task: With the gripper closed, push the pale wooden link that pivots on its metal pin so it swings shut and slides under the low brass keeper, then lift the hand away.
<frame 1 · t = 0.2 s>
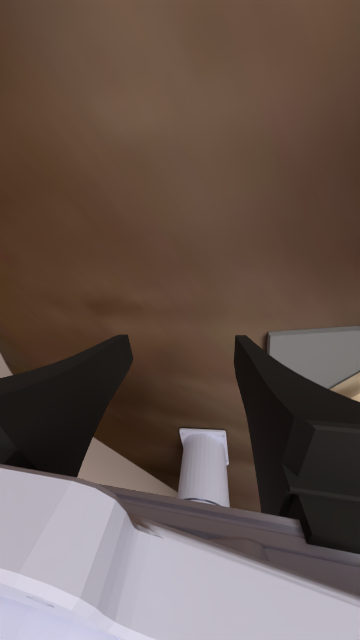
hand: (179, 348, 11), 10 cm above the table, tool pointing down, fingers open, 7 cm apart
link: (342, 408, 20), point 3 cm above the table, hinge at 45.0°
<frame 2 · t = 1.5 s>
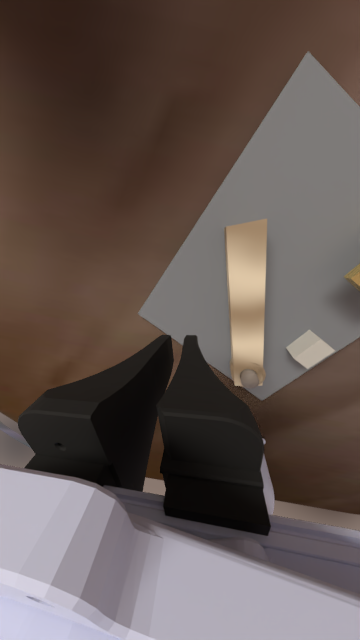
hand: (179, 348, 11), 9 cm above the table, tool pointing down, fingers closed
base plate: (273, 286, 18), on the table
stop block: (299, 339, 19), resting on base plate
link: (246, 319, 17), point 3 cm above the table, hinge at 45.0°
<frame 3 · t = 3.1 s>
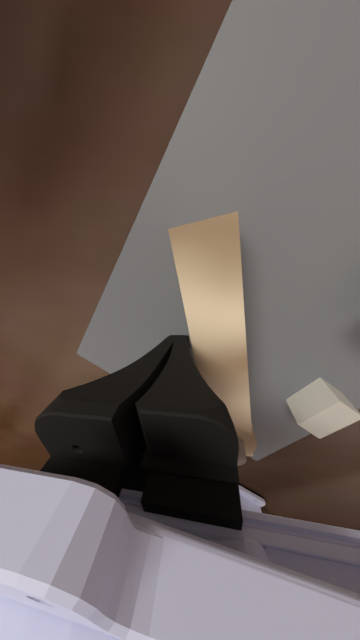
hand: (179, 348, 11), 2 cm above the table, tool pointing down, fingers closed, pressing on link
base plate: (262, 314, 12), on the table
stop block: (305, 385, 13), resting on base plate
link: (221, 369, 11), point 3 cm above the table, hinge at 45.0°, touching gripper
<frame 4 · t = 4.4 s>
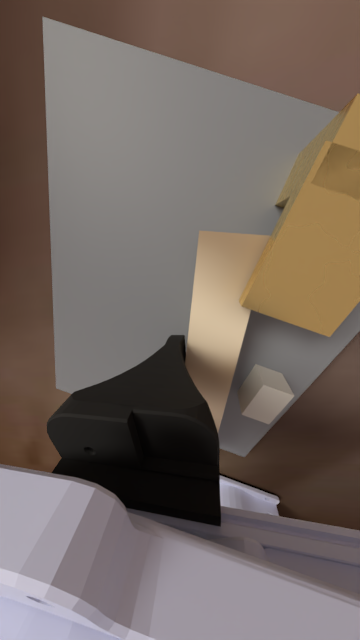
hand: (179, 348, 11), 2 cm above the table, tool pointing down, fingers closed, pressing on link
base plate: (185, 320, 13), on the table
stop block: (255, 374, 14), resting on base plate
keeper: (284, 248, 10), resting on base plate
link: (206, 375, 11), point 3 cm above the table, hinge at 12.9°, touching gripper
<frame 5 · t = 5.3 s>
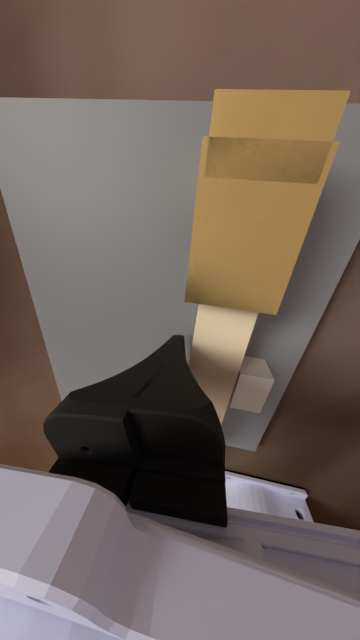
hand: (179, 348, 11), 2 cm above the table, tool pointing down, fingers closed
base plate: (161, 323, 13), on the table
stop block: (242, 364, 14), resting on base plate
keeper: (232, 236, 10), resting on base plate
link: (209, 376, 11), point 3 cm above the table, hinge at -0.7°, touching gripper
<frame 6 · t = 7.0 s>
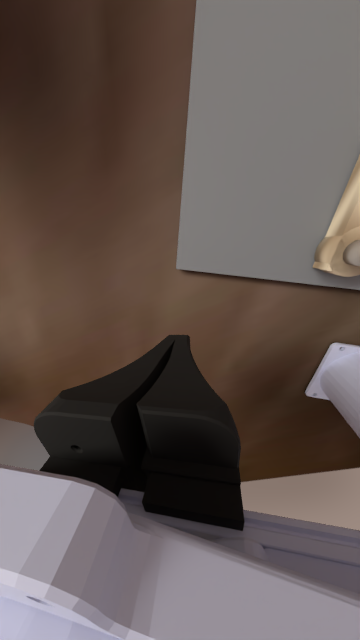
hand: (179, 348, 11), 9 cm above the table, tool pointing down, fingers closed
base plate: (324, 121, 12), on the table
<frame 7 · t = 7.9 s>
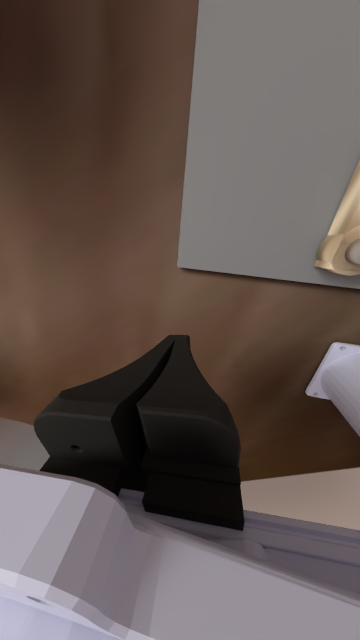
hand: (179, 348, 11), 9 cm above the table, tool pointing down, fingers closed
base plate: (327, 118, 12), on the table
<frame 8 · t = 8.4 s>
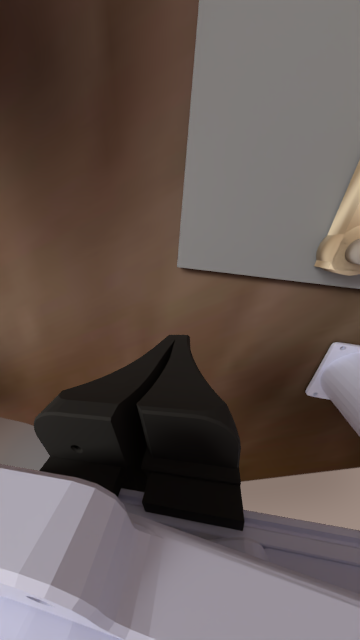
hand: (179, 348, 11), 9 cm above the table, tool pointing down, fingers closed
base plate: (327, 118, 12), on the table
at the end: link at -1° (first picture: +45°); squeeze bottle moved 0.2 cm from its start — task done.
